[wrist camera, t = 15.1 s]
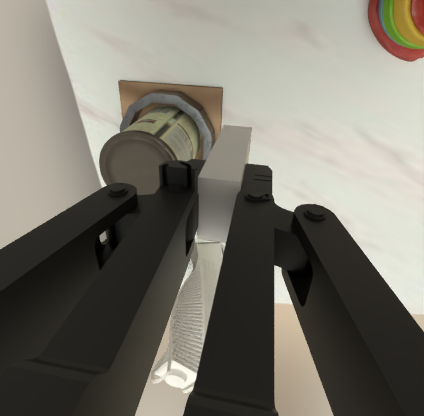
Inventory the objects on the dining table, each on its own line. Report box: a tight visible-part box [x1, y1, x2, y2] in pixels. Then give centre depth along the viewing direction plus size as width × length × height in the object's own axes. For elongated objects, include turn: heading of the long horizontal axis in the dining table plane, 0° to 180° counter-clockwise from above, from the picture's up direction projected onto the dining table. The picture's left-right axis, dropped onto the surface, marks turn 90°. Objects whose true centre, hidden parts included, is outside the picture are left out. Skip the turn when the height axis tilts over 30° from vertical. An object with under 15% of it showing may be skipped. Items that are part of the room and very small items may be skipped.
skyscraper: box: [151, 242, 224, 393], centre depth 49 cm, size 8×8×28 cm
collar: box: [120, 90, 215, 160], centre depth 47 cm, size 14×14×3 cm
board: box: [118, 81, 223, 160], centre depth 48 cm, size 16×16×1 cm
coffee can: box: [99, 105, 202, 195], centre depth 42 cm, size 10×10×14 cm
